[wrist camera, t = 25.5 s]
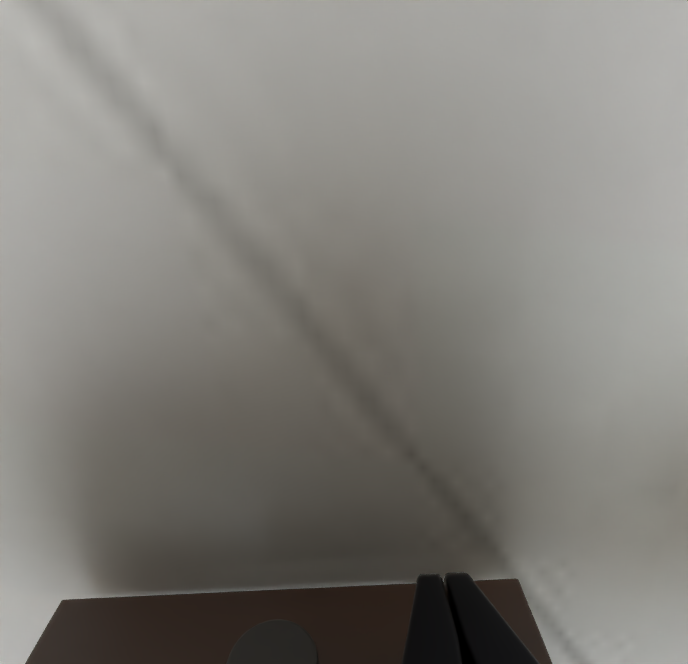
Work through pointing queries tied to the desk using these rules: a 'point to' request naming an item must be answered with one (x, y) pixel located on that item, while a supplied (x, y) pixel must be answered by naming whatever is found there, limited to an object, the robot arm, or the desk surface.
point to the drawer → (257, 626)
